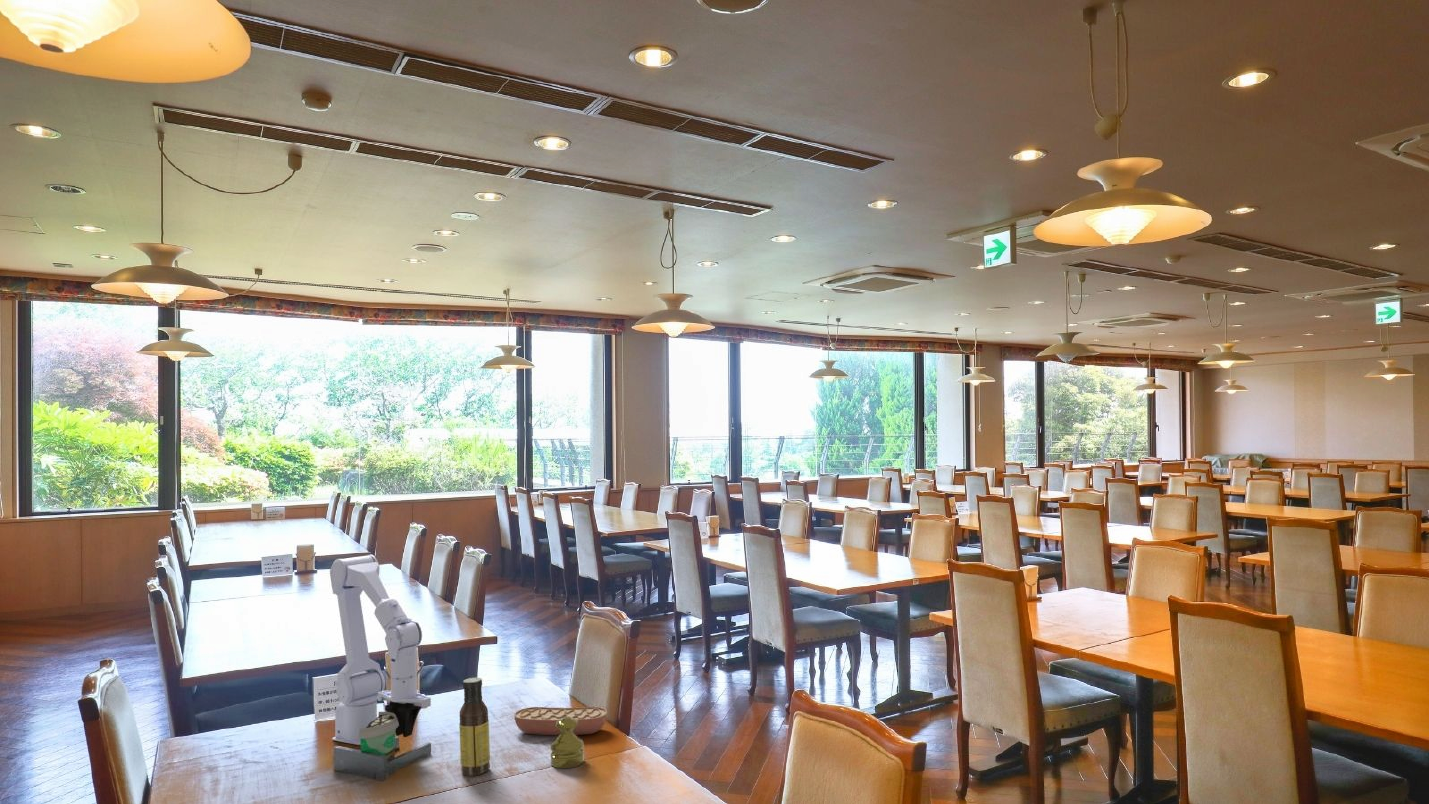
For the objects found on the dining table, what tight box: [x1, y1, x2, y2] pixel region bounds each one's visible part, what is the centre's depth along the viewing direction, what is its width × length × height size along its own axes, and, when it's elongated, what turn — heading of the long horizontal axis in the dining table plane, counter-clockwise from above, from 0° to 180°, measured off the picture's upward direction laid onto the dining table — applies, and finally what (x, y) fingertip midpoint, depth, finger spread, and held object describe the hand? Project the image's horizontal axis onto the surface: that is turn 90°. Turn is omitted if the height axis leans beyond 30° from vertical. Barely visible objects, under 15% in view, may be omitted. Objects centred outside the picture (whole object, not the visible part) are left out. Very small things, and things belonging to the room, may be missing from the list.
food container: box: [359, 711, 399, 761], centre depth 191 cm, size 12×6×10 cm, turn 1°
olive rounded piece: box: [550, 717, 585, 769], centre depth 191 cm, size 7×7×10 cm
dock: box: [333, 736, 432, 782], centre depth 192 cm, size 15×16×5 cm
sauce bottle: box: [458, 677, 491, 777], centre depth 187 cm, size 6×6×20 cm
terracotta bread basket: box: [514, 706, 608, 736], centre depth 210 cm, size 23×10×5 cm, turn 87°
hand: (404, 735), depth 197 cm, fingers closed
